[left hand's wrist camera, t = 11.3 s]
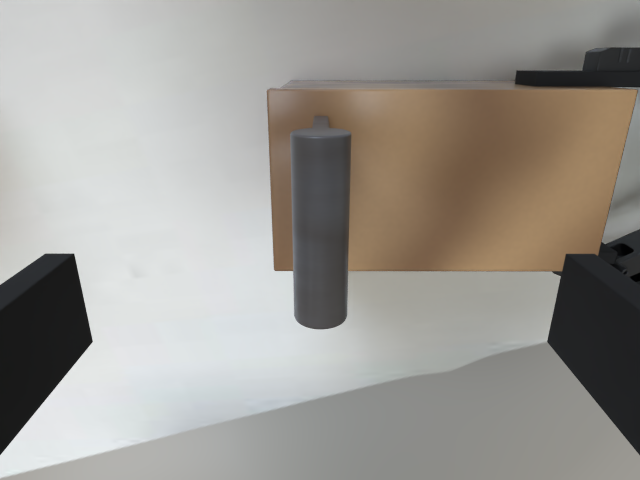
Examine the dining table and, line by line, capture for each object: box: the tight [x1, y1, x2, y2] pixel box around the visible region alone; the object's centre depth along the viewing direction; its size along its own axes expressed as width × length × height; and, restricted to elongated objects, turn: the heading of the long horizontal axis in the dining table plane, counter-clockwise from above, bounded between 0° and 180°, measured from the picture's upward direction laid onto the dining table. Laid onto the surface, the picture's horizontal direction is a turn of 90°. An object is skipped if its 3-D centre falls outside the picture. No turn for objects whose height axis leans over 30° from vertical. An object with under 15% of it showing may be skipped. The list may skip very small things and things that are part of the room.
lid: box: [267, 88, 638, 329], centre depth 20 cm, size 17×9×9 cm, turn 90°
